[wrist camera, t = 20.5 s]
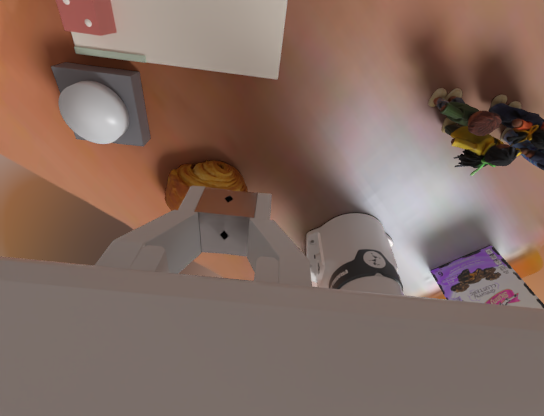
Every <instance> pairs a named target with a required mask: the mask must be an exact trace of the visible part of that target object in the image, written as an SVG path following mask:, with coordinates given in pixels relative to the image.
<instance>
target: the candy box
mask: <svg viewBox="0 0 544 416" xmlns="http://www.w3.org/2000/svg"><path fill="white" fill-rule="evenodd" d="M431 273H432V275H433V277H434V278H435V280H436V282H437V283H438V285H439V287H440V289H441V290H442V292H443V294H444V296H445V297H446V299H447V300H456V301H466V302H477V303H487V304H497V305H508V306H518V307H529V308H539V309H544V304H543V303H542V302H541V301H540V300H539V298H538V297H537V296H536V295H535V294H534V293H533V292H532V290H531V289H530V288H529V287H528V286H527V285H526V283H525V282H524V281H523V280H522V279H521V278H520V276H519V275H518V274H517V273H516V272H515V271H514V270H513V268H512V267H511V266H510V265H509V264H508V263H507V262H506V261H505V260H504V258H503V257H502V256H501V255H500V254H499V253H498V252H497V250H496V249H495V248H494V247H493V246H492V245H491V246H488V247H486V248H483V249H481V250H479V251H477V252H474V253H471V254H469V255H467V256H465V257H462V258H460V259H457V260H455V261H453V262H450V263H448V264H446V265H443V266H441V267H438V268H436V269H434V270H431Z"/></svg>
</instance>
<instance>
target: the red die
mask: <svg viewBox="0 0 544 416" xmlns="http://www.w3.org/2000/svg"><path fill="white" fill-rule="evenodd" d="M56 3H57V6H58V10H59V13H60V16H61V20H62V23H63V26H64V30H65V31H70V32H77V33H85V34H92V35H99V36H102V35H107V34H112V33H117V31H116V26H115V20H114V15H113V10H112V5H111V0H56Z"/></svg>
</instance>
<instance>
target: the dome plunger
mask: <svg viewBox="0 0 544 416" xmlns="http://www.w3.org/2000/svg"><path fill="white" fill-rule="evenodd" d="M59 109H60V112H61V115H62V117H63V119H64V121H65V122H66V123H67V125H68V126H69V127H70V128H71V129H72V130H73V131H74V132H75V133H76V134H78V135H79V136H80V137H82V138H84V139H86V140H88V141H90V142H94V143H98V144H108V143H112V142H114V141H116V140H117V139H118V138H119V137H120V136H121V135H123V134H124V133H125V132H126V130H127V128H128V125H129V114H128V111H127V108H126V106H125V104H124V103H123V101H122V100H121V99H120V97H119V96H118V95H117V94H116V93H115V92H114V91H113V90H111V89H110V88H108V87H107V86H105V85H103V84H101V83H98V82H95V81H80V82H78V83H75V84H73V85H70V86H68V87H66V88H65V89H64V90H63V91H62V92H61V94H60V97H59Z"/></svg>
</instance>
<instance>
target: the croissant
mask: <svg viewBox="0 0 544 416" xmlns="http://www.w3.org/2000/svg"><path fill="white" fill-rule="evenodd" d="M191 186H203V187H211V188H219V189H226V190H232V191H242V192H248V191H247V187H246V185H245V182H244V179H243V177H242V175H241V174H240V173H239V171H238V170H236V169H235V168H234V167H232V166H231V165H228V164H226V163H224V162H222V161H215V160H214V161H208V160H206V162H202V163H198V164H196V165H195V164H185V165H180V167H179V168H178V169H176V170H175V169H174V170H172V171H171V173H170V174H169V176H168V183H167V187H166V188H165V192H166V193H165V201H166V203H167V205H168V207H169V208H170V209H171V211H173V210H178V209H179V207H180V205H181V203H182V202H183V200H184V198H185V196H186V194H187V192H188V190H189V189H190V187H191Z"/></svg>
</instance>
